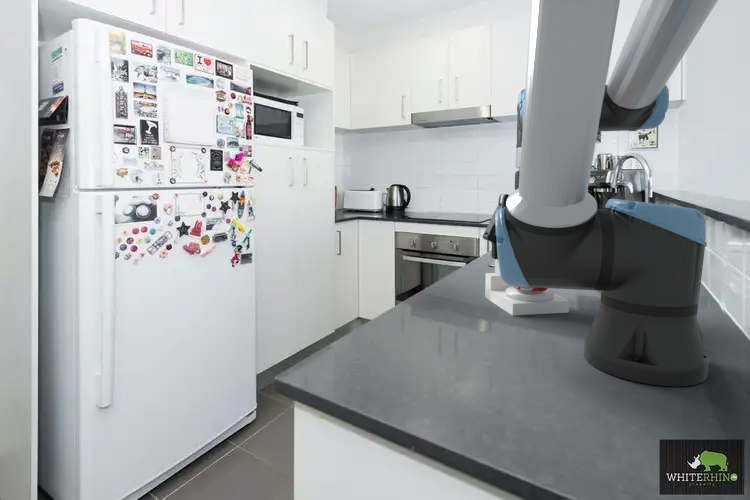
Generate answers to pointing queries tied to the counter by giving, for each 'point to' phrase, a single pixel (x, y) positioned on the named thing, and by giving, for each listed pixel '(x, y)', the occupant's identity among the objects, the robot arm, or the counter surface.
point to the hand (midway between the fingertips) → (530, 273)
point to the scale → (522, 298)
